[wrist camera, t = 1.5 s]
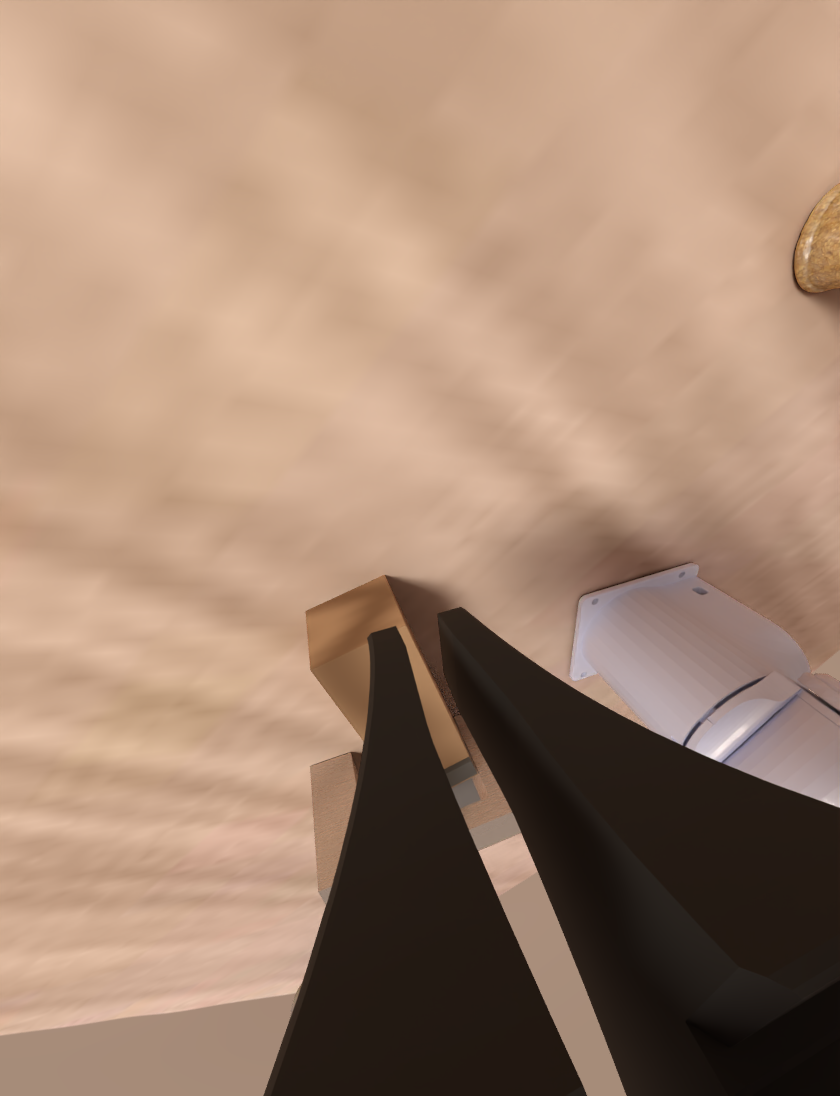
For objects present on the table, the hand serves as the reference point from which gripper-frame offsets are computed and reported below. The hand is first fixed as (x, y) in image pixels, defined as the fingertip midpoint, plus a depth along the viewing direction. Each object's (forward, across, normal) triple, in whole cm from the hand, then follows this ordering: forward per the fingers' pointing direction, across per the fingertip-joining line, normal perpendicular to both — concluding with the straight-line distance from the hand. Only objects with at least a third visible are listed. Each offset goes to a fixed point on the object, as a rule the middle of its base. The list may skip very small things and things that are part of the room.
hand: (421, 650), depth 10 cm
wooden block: (+11, 0, +12) cm, 16 cm away
